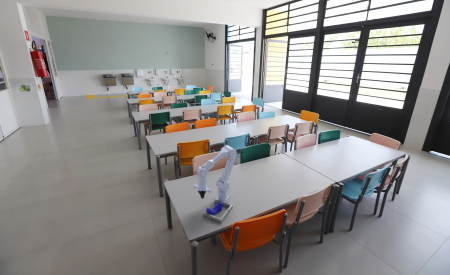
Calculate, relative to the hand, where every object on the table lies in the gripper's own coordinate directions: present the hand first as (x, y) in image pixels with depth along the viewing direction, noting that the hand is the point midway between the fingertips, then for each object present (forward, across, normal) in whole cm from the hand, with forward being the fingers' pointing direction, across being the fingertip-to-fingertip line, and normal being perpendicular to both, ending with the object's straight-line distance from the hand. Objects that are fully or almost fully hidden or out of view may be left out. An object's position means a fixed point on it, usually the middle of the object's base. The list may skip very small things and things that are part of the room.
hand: (202, 197), depth 164 cm
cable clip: (+8, +10, -2) cm, 13 cm away
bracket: (+8, +13, 0) cm, 15 cm away
